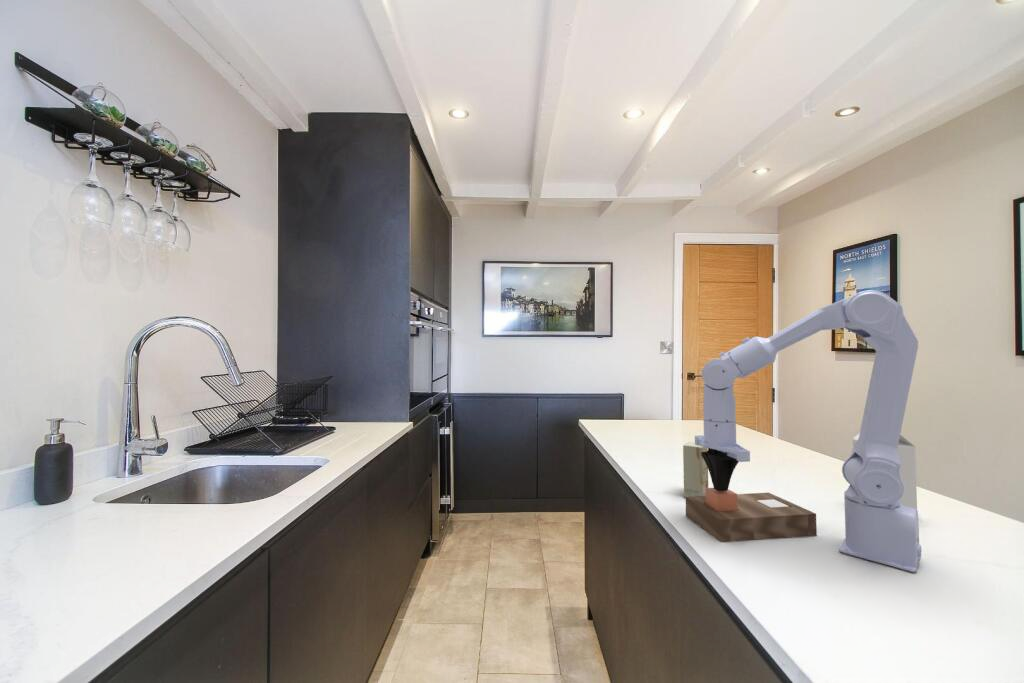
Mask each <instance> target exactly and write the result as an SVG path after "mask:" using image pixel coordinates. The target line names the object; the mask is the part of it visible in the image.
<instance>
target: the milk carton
mask: <svg viewBox="0 0 1024 683" xmlns="http://www.w3.org/2000/svg"><path fill="white" fill-rule="evenodd" d="M859 434H860V432H859V433H858V434H857V435H855V436H854V437H853V438H852V447H853V446H854V445H855V443H856V442H857V440H858V439H859ZM897 450H898V455H899V459H900V464H901V466H900V473H899V474H900V478H901V481H902V483H903V486H904V492H903V495H902V497H901V498H900V504H901V505H903V506H906V507H910V508H914V509H917V510H918V495H917V490H918V488H917V468H916V467H917V466H916V465H917V464H916V446H915V444H913V443H911V442H910V441H909V440H908V439H907V438H906V437H904V436H903V435H901V434H900V438H899V443H898V447H897Z"/></svg>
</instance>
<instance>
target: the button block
mask: <svg viewBox="0 0 1024 683" xmlns="http://www.w3.org/2000/svg"><path fill="white" fill-rule="evenodd" d="M771 499H774V500H777V501H779V502H781V503H783V504H785V505H787V506H789V507H784V508H769V507H767V506H765V505H763V504H761V503H759V502H757V501H756V500H771ZM685 517H686V518H688V519H689V520H691V522H693V523H695V524H696V525H697V526H699V527H700V528H702V529H703V530H705V532H707V533H708V534H710V535H711V536H713V537H714V538H715V539H717V540H718V541H720V542H721V543H728V542H729V543H730V542H742V541H757V540H758V541H759V540H772V539H785V538H786V539H787V538H788V539H789V538H800V537H801V538H803V537H814V536H817V534H818V532H817V527H818V526H817V513H815V512H813V511H811V510H809V509H808V508H807V509H806V508H804V507H802V506H800V505H797V504H795V503H793V502H791V501H788V500H786V499H784V498H782V497H779V496H777V495H775V494H773V493H771V492H756V493H754V492H753V493H737V510H733V511H716V510H714V509H713V508H711V507H709V506H708V505H706V496H694V497H685Z"/></svg>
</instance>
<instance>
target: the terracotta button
mask: <svg viewBox="0 0 1024 683" xmlns="http://www.w3.org/2000/svg"><path fill="white" fill-rule="evenodd" d="M705 492H706V505H708V506H709V507H711V508H713V509H714V510H716V511H733V510H737V494H738V493H737V492H734V491H733V490H730V489H729V488H728V490H727V491H717V490H715V489H714V487H708V488H705Z"/></svg>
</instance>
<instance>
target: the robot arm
mask: <svg viewBox="0 0 1024 683" xmlns="http://www.w3.org/2000/svg"><path fill="white" fill-rule="evenodd" d="M843 328H844V329H845V330H847V331H849V332H852V333H854V334H856V335H857V336H860V337H861V338H862V339H863V340H864V341H865V342H866V343H867V344H868V345H869V346H870V347H872V348H873V349H874V350H875V356H874V360H873V365H872V369H871V374H870V381H869V384H868V390H867V395H866V400H865V406H864V410H863V415H862V420H861V425H860V430H859V433H860V434H859V433H858V434H859V439H858V440H857V442H856V443H855V445H854V446H853V445H852V451H851V454H850V455H849V456H848V457H847V458H846V460H845V461H844V462H843V464H842V468H841V472H842V476H843V478H844V480H845V481H846V482H847V483H848V484H849V486H848V488H847V489H846V490H845V491H844V493H843V495H844V497H843V498H844V526H845V528H844V529H845V530H844V531H845V539H844V540H843V542H842V543H841V545H840V546H839V548H838V551H839V552H840V553H843V554H847V555H849V556H853V557H857V558H861V559H864V560H869V561H871V562H876V563H879V564H883V565H886V566H890V567H893V568H897V569H901V570H904V571H908V572H911V573H917V571H918V568H919V563H920V559H921V558H922V545H921V544H920V525H919V522H920V521H919V520H920V519H919V511H918V508H917V509H914V508H910V507H906V506H903V505H901V504H900V498H901V497H902V495H903V492H904V486H903V483H902V481H901V478H900V474H899V473H900V466H901V464H900V459H899V455H898V450H897V447H898V443H899V438H900V435H901V433H902V427H903V422H904V418H905V413H906V407H907V402H908V398H909V393H910V389H911V382H912V378H913V373H914V369H915V368H914V367H915V364H916V359H917V354H918V348H919V341H918V338H917V337H916V334H915V332H914V331H913V329H912V328H911V326H910V324H909V322H908V320H907V318H906V316H905V314H904V311H903V306H902V305H901V304H900V303H898V302H897V301H896V300H894V298H892V297H891V296H889V294H886V293H884V292H883V291H880V290H874V289H873V290H872V289H871V290H870V289H869V290H868V289H867V290H864V291H860V292H859V291H858V292H857V293H855V294H853V295H852V296H850V297H848V298H844V299H841V300H838V301H835V302H833V303H831V304H828V305H824V307H821V308H819V309H816V310H815V311H813V312H811V313H809V314H807V315H806V316H804V317H802V318H801V319H799V320H797V321H795V322H794V323H792V324H790V325H789V326H787V327H785V328H783V329H781V330H780V331H778V332H776V333H774V334H772V335H771V336H769V337H767V338H766V337H762V336H761V337H760V336H753V337H752V338H749V336H747V337H745V338H743V339H742V340H741V342H742V343H740V344H739V345H738V346H735V347H734V348H732V349H729V350H728V351H727V352H725V351H722V352H720V353H718V355H719V357H720V358H711V359H710V360H709V361H708V362H707V363H705V365H703V368H702V369H701V378H702V381H703V382H704V384H703V394H704V395H703V396H702V407H703V408H702V411H703V413H702V414H703V415H702V416H703V418H702V419H703V435H702V434H701V435H694V442H695V445H698V446H701V447H704V448H708V450H707V452H701V456H702V457H703V459H704V461H705V463H706V465H707V467H708V473H709V476H710V478H711V483H712V486H713V487H712V488H714V489H715V490H717V491H727V490H728V489H729V487H730V483H731V478H732V476H733V473H734V471H735V469H736V467H737V465H738V464H739V463H747V462H751V451H750V450H748V449H745V448H744V447H743V446H741V445H740V444H739V443H737V419H736V418H737V415H736V414H737V412H736V397H735V395H734V383H735V382H736V381H735V380H736V379H738V378H740V379H745V378H747V377H748V376H750V375H753V374H754V373H756V372H758V371H759V370H762V369H764V368H766V367H767V366H769V365H772V364H773V363H775V362H776V359H777V354H778V352H780V351H782V350H784V349H786V348H789V347H790V346H792V345H795V344H796V343H798V342H800V341H802V340H805V339H806V338H808V337H810V336H813V335H815V334H817V333H819V332H820V331H828V330H829V331H830V330H831V331H832V330H834V331H835V330H840V329H843Z"/></svg>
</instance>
